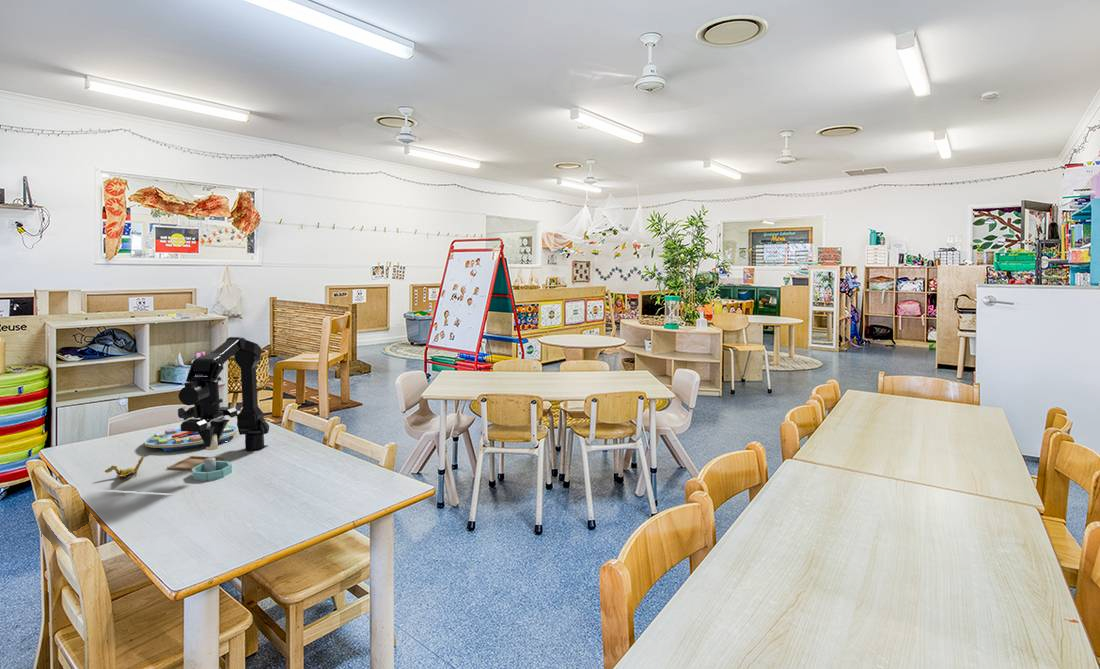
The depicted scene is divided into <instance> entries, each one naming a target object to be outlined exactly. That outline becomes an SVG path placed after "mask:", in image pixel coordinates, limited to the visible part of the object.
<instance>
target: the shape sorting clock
mask: <svg viewBox="0 0 1100 669" xmlns="http://www.w3.org/2000/svg"><path fill="white" fill-rule="evenodd" d="M238 433H239V431H238V427H237V425H235V424H228V423H227V425H226V426H225V428H224V430H223V432H222V434H221V437H220V439H219V441H218V443H219V442H224V443H226V442H225V441H229V442H230V437H232V436H234V435H236V434H238ZM143 445H144V446H145V447H147V448H155V449H156V448H157V449H158V448H159V449H163V452H164V453H165V452H170V451H175V450H181V449H189V448H194V447H198V446H205V444H204V442H203V440H202V438H201V436H200V434H199V433H198V432H187V431H181V428H168V429H165V431H163V432H156V433H153V435H151V436H149V437H146V438H145V439H144V440H143Z"/></svg>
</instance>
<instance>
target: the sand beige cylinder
mask: <svg viewBox="0 0 1100 669" xmlns="http://www.w3.org/2000/svg"><path fill="white" fill-rule="evenodd" d="M218 443H219V442H218ZM218 443H217V434H214V433H213V436H212V441H211V445H210V447H206V446H205V449H206V451H214V450H217V449H218V448H219V445H218Z"/></svg>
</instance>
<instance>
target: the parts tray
mask: <svg viewBox="0 0 1100 669" xmlns="http://www.w3.org/2000/svg"><path fill="white" fill-rule="evenodd" d="M210 457H211V456H200V455H199V456H198V455H197V456H196V455H191V456H187V457H186V458H184V459H182V460H179V461H177V462H175V463H174V464H171V465H169V466H167V467H166V470H171V471H174V470H175V471H191V472H192V468H194V467H196V466H198V465H200V464H202V463H204V459H206V458H210ZM213 457H214V458H215V459H216V461H224V459H225V458H224V457H219V456H213Z"/></svg>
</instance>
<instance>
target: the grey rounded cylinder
mask: <svg viewBox="0 0 1100 669" xmlns="http://www.w3.org/2000/svg"><path fill="white" fill-rule="evenodd" d="M209 457H210V458H206V459H204V468H205V472H212V471H216V459H215V458H214V457H215V456H209Z"/></svg>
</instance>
